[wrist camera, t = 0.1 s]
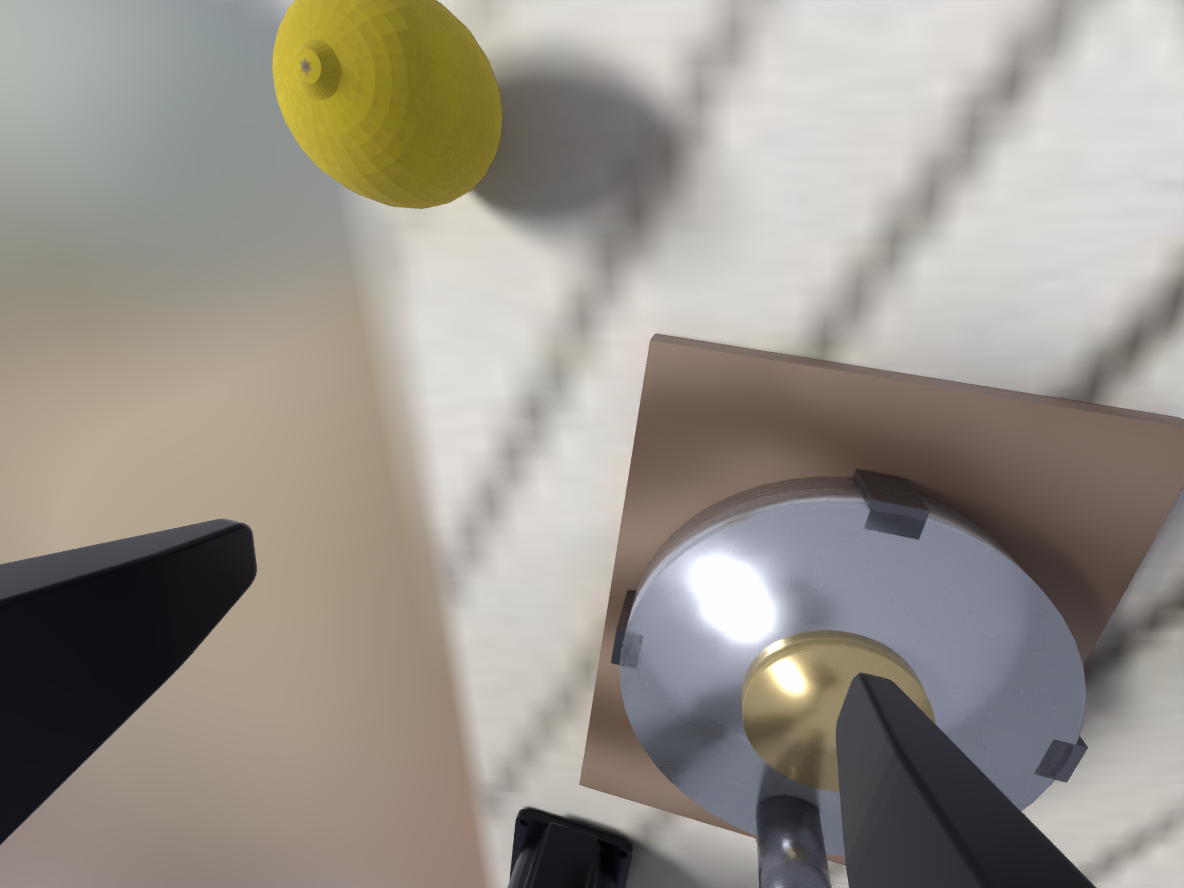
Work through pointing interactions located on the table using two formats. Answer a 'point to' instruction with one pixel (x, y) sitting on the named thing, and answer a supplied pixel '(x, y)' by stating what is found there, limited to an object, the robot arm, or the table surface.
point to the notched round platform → (837, 654)
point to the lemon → (388, 97)
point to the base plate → (892, 447)
